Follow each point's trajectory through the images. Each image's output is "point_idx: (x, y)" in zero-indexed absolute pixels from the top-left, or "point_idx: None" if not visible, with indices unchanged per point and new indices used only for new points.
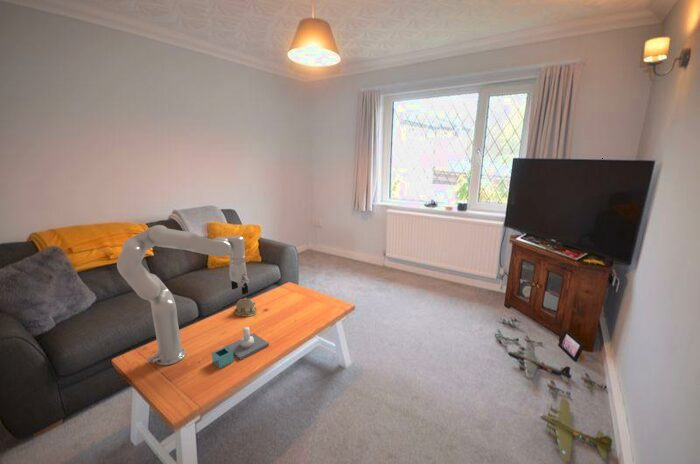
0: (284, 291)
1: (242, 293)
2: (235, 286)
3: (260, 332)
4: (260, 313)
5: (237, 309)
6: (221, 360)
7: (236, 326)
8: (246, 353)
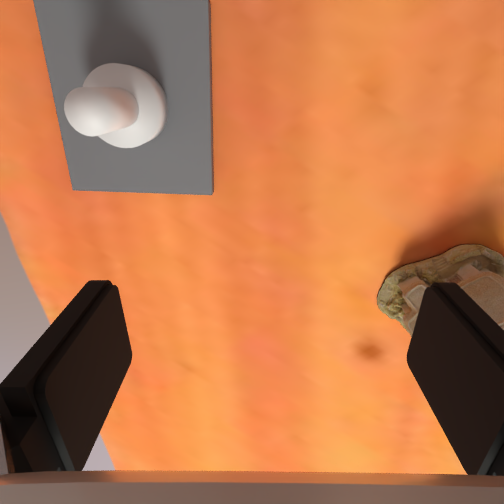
0: (426, 468)
1: (87, 287)
2: (431, 356)
3: (216, 227)
4: (366, 321)
5: (488, 271)
6: None
7: (367, 182)
8: (49, 47)
